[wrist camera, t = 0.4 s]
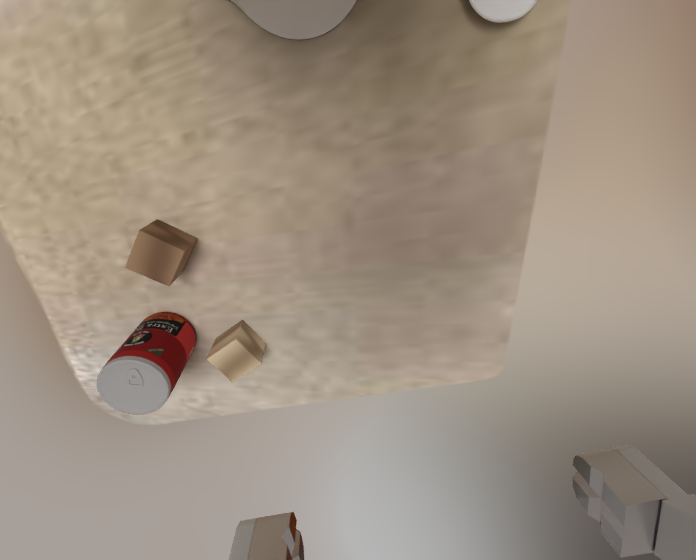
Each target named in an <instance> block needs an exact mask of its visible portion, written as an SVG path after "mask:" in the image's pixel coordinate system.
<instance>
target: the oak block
mask: <svg viewBox="0 0 696 560" xmlns="http://www.w3.org/2000/svg"><path fill="white" fill-rule="evenodd" d="M265 344H266V343H265V342H264V341H263V340H262V339H261V338H260V337H259V336H258V335H257V334H256V333H255V332H254V331H253V330H252V329H251V328H250V327H249V326H248V325H247V324H246V323H245V322H244V321H243V320H242V321H240V322H239V323H237V324H236V325H234V326H233V327H231V328H230V329H229V330H227V331H226V332H224V333H223V334H221V335H220V336H218V337H217V338H216V339H215V341H214V344H213V346H212V348H211V350H210V353H209V355H208V357H207V360H208V361H209V362H210V363H211V364H213V365H214V366H215V367H216V368H217V369H218V370H219V371H220V372H222V373H223V374H224V375H225V376H226V377H227V378H228V379H229V380H231V381H232V382H235V381H236V380H238V379H239V378H241V377H242V376H244V375H245V374H247V373H248V372H250V371H251V370H253V369H254V368H256V367H258V366H259V365H261V364H262V359H263V354H264V349H265Z"/></svg>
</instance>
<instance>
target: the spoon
mask: <svg viewBox="0 0 696 560" xmlns="http://www.w3.org/2000/svg"><path fill="white" fill-rule="evenodd" d="M469 2H470V4H471V5H472V7H473V9H474V10H475V11H476V12H477V13H478V14H479V15H480V16H481V17H482V18H484V19H486V20H488V21H491V22H497V23H503V22H509V21H513V20H516V19H518V18H520V17H522V16H524V15H525V14H526V13H528V12H529V11H530V10H531V9H532V8H533V6H534V5H535V4H536V2H537V0H469Z"/></svg>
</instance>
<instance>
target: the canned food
mask: <svg viewBox="0 0 696 560" xmlns="http://www.w3.org/2000/svg"><path fill="white" fill-rule="evenodd" d="M195 342H196V336H195V331H194V329H193V327H192V325H191V324H190V323H189V322H188V321H187V320H186V319H185V318H183V317H182V316H180V315H177V314H175V313H170V312H161V313H156V314H154V315H151V316H149V317H148V318H146V319H145V320H144V321H143V322H142V323H141V324H140V325H139V326H138V327H137V328H136V330H135V331H134V332H133V333H132V334H131V335H130V336H129V338H128V339H127V340H126V341H125V342H124V343H123V344H122V346H121V347H120V348H119V349H118V350H117V351H116V353H115V354H114V355H113V356H112V357H111V358H110V359H109V361H108V362H107V363H106V364H105V366H104V367H103V368H102V370H101V371H100V373H99V375H98V378H97V388H98V392H99V393H100V395H101V397H102V398H103V399H104V401H105V402H106V403H108V404H109V405H110V406H111V407H113V408H115V409H117V410H119V411H121V412H124V413H128V414H136V415H137V414H147V413H151V412H154V411H156V410H158V409H159V408H160V407H162V406H163V405H164V403H165V402H166V401H167V399H168V398H169V396H170V394H171V392H172V391H173V389H174V387H175V385H176V383H177V381H178V379H179V377H180V375H181V373H182V371H183V369H184V367H185V365H186V363H187V361H188V359H189V357H190V356H191V354H192V352H193V350H194V347H195Z"/></svg>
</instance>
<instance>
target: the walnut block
mask: <svg viewBox="0 0 696 560" xmlns="http://www.w3.org/2000/svg"><path fill="white" fill-rule="evenodd" d="M196 240H197V238H196V237H194V236H192V235H190V234H187V233H185V232H183V231H181V230H179V229H177V228H175V227H173V226H171V225H168V224H166V223H164V222H162V221H160V220H158V219H157V220H155V221H154V222H152V223H150V224H149V225H147V226H146V227H144V228H142V229H141V230H139V232H138V235H137V238H136V240H135V243H134V246H133V248H132V251H131V254H130V256H129V259H128V262H127V264H126V267H125V268H127V269H129V270H132V271H134V272H136V273H139V274H141V275H144V276H146V277H148V278H151V279H153V280H155V281H158V282H160V283H163V284H165V285H167V286H170V285H171V284H172V283H173V282H174V280H175V279H176V278H177V277H178V276H179V275H180V274H181V272H182V271H183V270H184V268H185V265H186V263H187V261H188V259H189V256H190V254H191V252H192V250H193V247H194V245H195V243H196Z"/></svg>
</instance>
